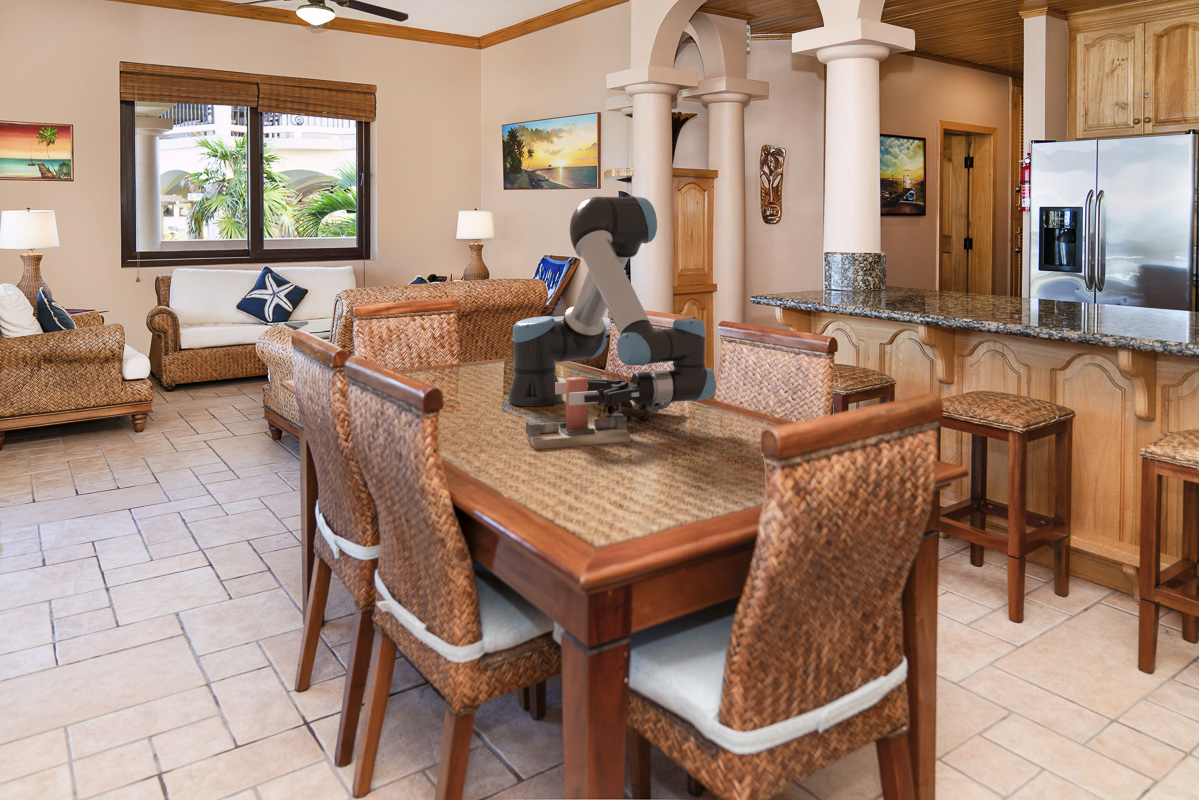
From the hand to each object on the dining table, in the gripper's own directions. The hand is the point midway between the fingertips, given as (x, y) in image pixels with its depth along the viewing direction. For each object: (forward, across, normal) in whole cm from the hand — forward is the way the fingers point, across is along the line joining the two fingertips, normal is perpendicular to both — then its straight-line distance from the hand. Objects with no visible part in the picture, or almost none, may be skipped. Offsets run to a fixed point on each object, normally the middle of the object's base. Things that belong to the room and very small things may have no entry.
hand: (562, 393), depth 206 cm
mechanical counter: (-20, +12, -11) cm, 25 cm away
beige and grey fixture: (-3, 0, -11) cm, 11 cm away
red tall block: (-3, 0, -9) cm, 9 cm away
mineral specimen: (-29, +20, -11) cm, 37 cm away
